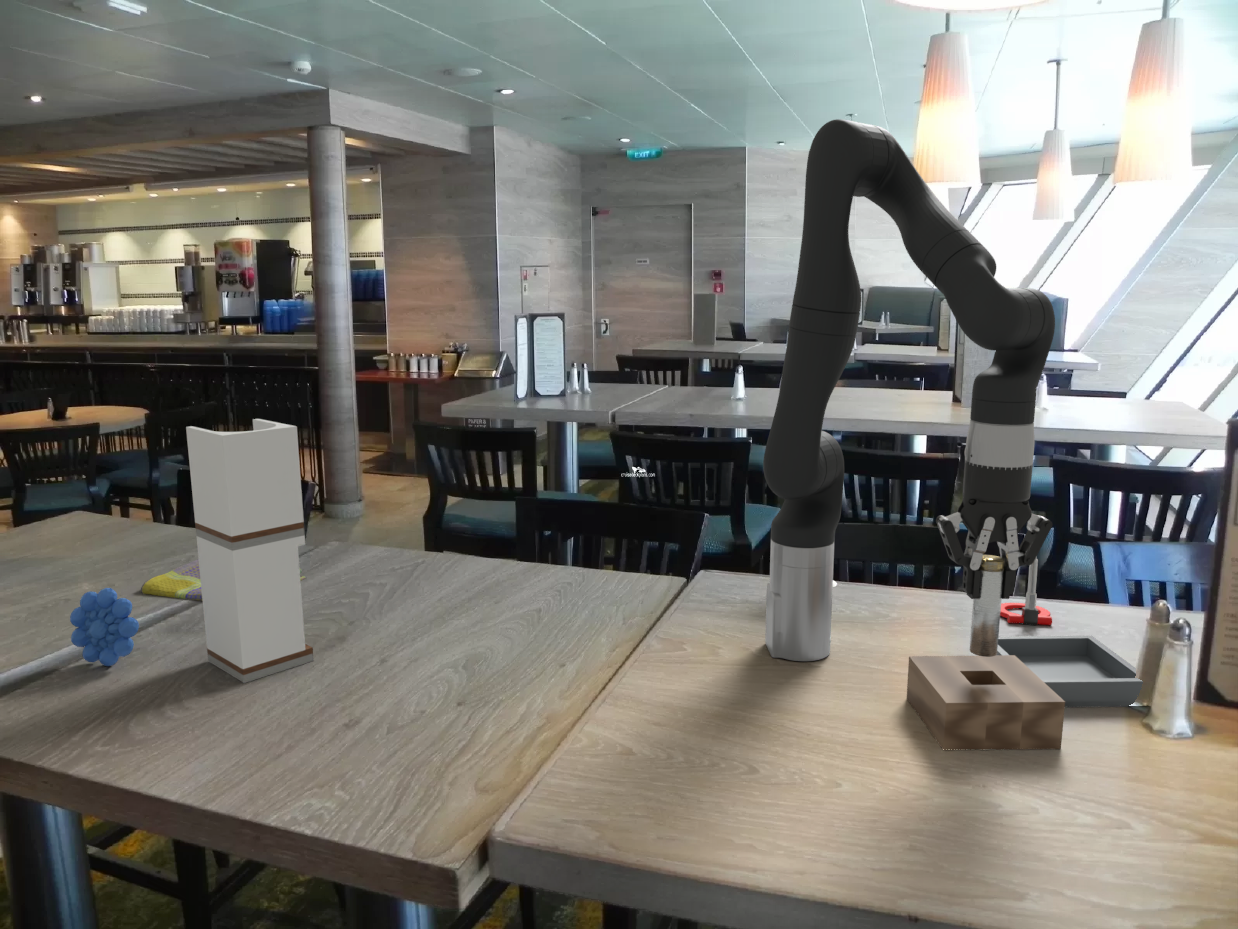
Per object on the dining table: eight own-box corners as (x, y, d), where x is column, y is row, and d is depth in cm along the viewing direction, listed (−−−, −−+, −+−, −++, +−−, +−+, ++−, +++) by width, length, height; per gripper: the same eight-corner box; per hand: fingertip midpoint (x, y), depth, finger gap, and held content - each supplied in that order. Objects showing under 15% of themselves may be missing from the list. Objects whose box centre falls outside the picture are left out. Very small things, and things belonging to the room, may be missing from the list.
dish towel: (244, 610, 163) (243, 594, 162) (134, 595, 171) (132, 581, 170) (308, 580, 179) (307, 566, 178) (205, 568, 187) (204, 554, 186)
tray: (1028, 707, 123) (1030, 682, 122) (981, 659, 138) (982, 636, 138) (1150, 706, 123) (1153, 681, 122) (1089, 658, 139) (1091, 635, 138)
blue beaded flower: (163, 658, 141) (155, 581, 138) (128, 676, 134) (119, 596, 132) (99, 650, 144) (90, 575, 141) (62, 668, 137) (52, 589, 135)
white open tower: (313, 660, 139) (296, 426, 133) (244, 683, 132) (222, 435, 125) (276, 641, 147) (258, 418, 140) (208, 661, 139) (185, 426, 133)
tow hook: (989, 607, 161) (1003, 624, 152) (994, 534, 160) (1008, 546, 150) (1041, 610, 160) (1058, 627, 151) (1047, 536, 158) (1064, 548, 149)
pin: (975, 656, 115) (982, 562, 113) (965, 646, 118) (972, 554, 116) (1001, 656, 115) (1009, 562, 113) (990, 646, 119) (998, 554, 116)
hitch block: (943, 750, 112) (946, 703, 111) (906, 698, 126) (908, 656, 124) (1060, 749, 112) (1065, 701, 111) (1011, 697, 126) (1014, 655, 124)
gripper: (950, 465, 108) (940, 607, 112) (1072, 464, 109) (1059, 607, 112) (929, 453, 116) (920, 587, 119) (1043, 452, 116) (1031, 586, 119)
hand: (987, 596), depth 116 cm, fingers closed on pin, 3 cm apart
